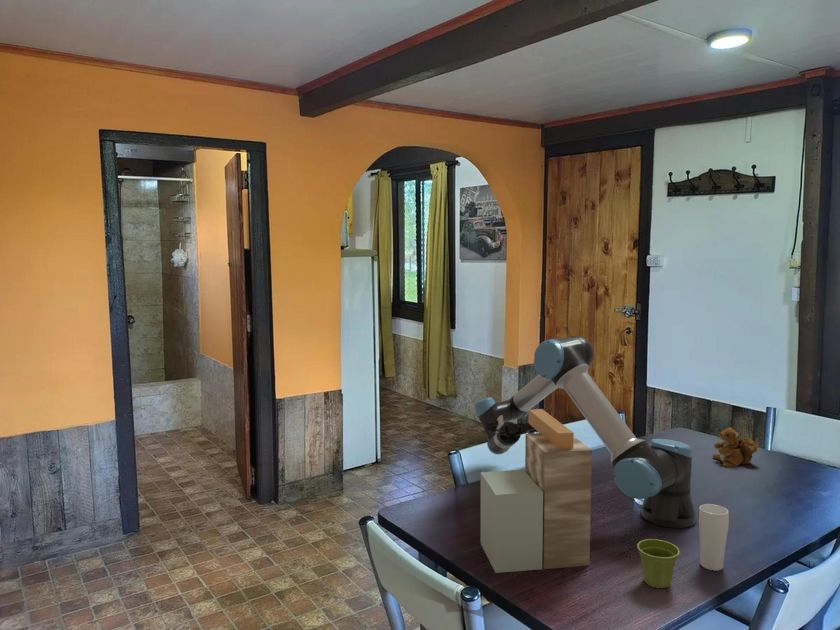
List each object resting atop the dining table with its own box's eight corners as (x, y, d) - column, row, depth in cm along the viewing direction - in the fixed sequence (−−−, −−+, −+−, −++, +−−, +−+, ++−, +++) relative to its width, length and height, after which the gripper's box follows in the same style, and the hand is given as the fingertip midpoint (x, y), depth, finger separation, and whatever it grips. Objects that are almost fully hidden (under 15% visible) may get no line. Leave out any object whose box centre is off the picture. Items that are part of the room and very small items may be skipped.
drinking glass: (729, 574, 153) (732, 515, 152) (700, 572, 155) (702, 513, 153) (722, 561, 160) (724, 504, 159) (694, 558, 161) (696, 502, 160)
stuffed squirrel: (710, 457, 239) (711, 424, 238) (749, 459, 237) (751, 425, 236) (718, 466, 229) (720, 431, 228) (759, 468, 227) (761, 433, 226)
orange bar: (528, 423, 180) (528, 409, 180) (541, 422, 181) (542, 408, 180) (558, 449, 156) (558, 433, 156) (573, 448, 157) (573, 432, 156)
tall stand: (524, 540, 173) (525, 433, 170) (566, 536, 174) (568, 431, 171) (543, 569, 157) (545, 452, 154) (589, 565, 158) (591, 450, 155)
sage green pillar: (480, 543, 171) (480, 472, 169) (523, 540, 173) (523, 469, 171) (495, 572, 155) (495, 494, 153) (542, 569, 157) (543, 491, 155)
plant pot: (674, 597, 144) (675, 561, 143) (632, 586, 149) (633, 551, 148) (681, 579, 152) (682, 544, 151) (641, 569, 157) (642, 535, 156)
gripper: (544, 444, 210) (565, 428, 191) (471, 448, 207) (485, 432, 188) (541, 422, 213) (561, 405, 194) (469, 425, 210) (482, 408, 191)
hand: (523, 418), depth 191 cm, fingers open, 13 cm apart
